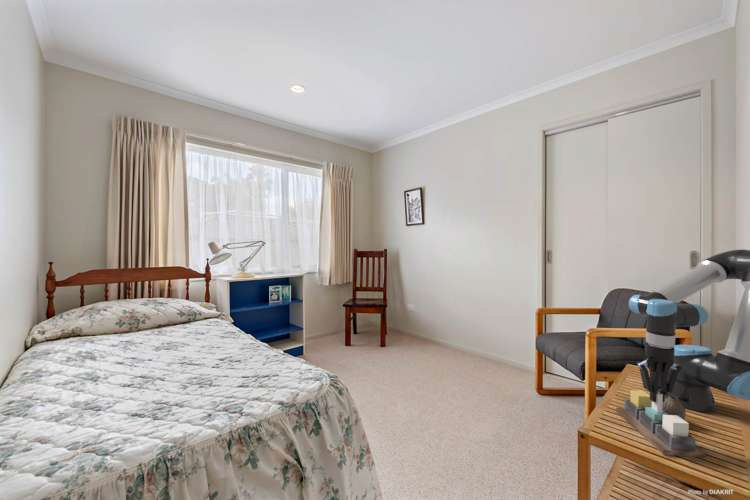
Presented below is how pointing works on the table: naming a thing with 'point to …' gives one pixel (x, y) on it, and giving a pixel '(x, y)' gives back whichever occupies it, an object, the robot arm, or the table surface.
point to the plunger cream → (675, 425)
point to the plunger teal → (654, 414)
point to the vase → (673, 407)
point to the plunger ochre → (640, 399)
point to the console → (659, 433)
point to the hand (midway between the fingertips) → (656, 410)
